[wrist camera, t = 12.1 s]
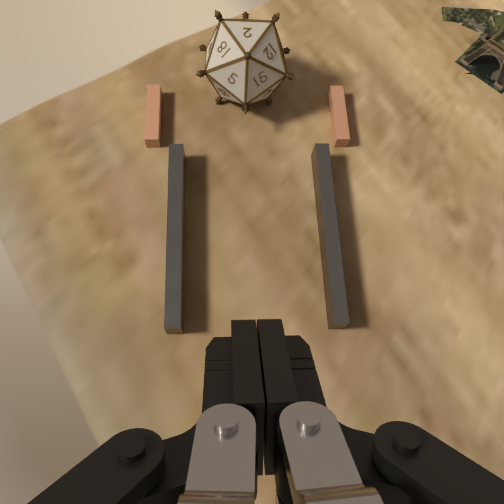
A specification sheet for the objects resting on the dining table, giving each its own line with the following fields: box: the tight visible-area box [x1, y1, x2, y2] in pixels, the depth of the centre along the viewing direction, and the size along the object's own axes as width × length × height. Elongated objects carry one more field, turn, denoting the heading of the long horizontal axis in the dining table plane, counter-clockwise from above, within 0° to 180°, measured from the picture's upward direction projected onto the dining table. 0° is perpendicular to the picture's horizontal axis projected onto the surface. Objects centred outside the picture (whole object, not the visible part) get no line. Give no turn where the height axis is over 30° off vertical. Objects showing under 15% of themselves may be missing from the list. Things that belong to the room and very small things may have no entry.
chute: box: [164, 144, 349, 334], centre depth 38 cm, size 14×16×2 cm
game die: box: [196, 10, 296, 114], centre depth 41 cm, size 9×8×10 cm
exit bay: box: [145, 85, 350, 147], centre depth 43 cm, size 18×6×1 cm, turn 92°
